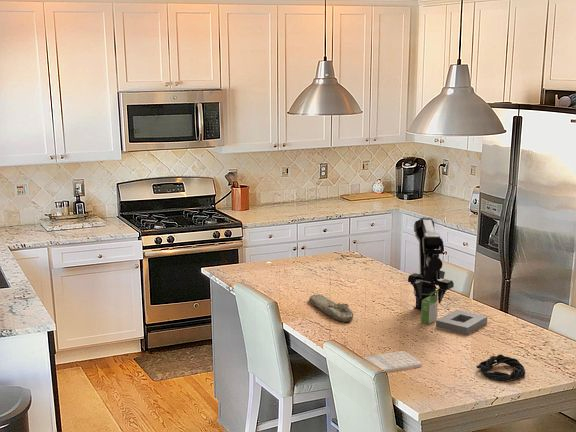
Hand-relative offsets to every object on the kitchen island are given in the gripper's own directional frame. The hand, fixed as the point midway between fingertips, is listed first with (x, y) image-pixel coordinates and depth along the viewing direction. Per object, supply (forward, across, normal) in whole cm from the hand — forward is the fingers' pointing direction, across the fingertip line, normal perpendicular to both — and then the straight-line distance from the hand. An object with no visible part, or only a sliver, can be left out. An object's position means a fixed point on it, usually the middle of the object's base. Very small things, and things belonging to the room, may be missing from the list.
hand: (429, 301), depth 309 cm
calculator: (+9, -12, +50) cm, 52 cm away
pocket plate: (+9, -13, -4) cm, 16 cm away
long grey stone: (+9, +40, +16) cm, 44 cm away
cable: (+9, -47, +31) cm, 57 cm away
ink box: (+9, 0, 0) cm, 9 cm away
